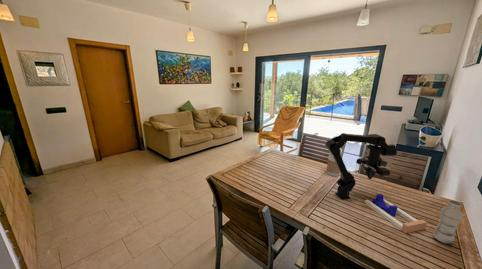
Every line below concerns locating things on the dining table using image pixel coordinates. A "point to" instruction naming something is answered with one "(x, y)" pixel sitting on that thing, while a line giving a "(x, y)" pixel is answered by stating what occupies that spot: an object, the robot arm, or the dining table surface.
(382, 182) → the dining table surface
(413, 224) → the guide channel
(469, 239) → the dining table surface
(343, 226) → the dining table surface
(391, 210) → the cable clip
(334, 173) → the fruit juice
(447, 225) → the plastic bottle
